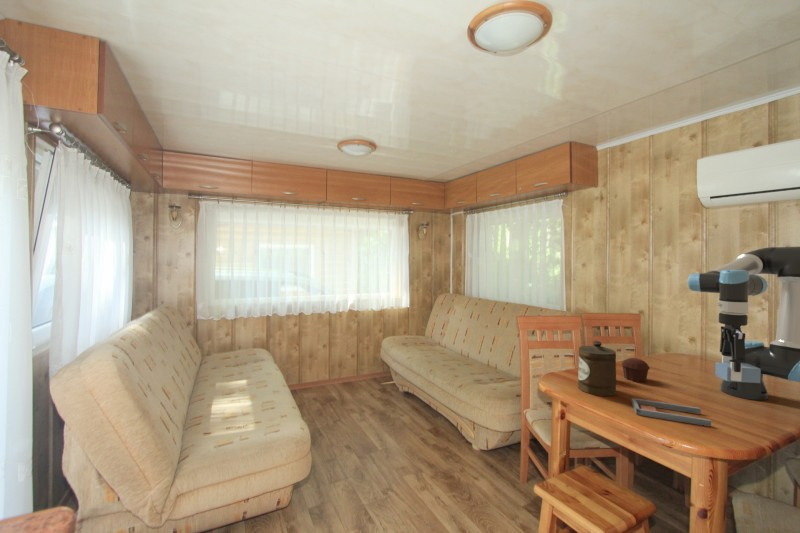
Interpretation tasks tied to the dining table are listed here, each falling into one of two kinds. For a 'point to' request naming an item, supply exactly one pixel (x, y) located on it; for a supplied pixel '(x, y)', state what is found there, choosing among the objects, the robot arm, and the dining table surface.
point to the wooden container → (597, 370)
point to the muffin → (635, 369)
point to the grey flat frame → (650, 411)
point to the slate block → (748, 372)
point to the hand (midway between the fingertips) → (731, 377)
